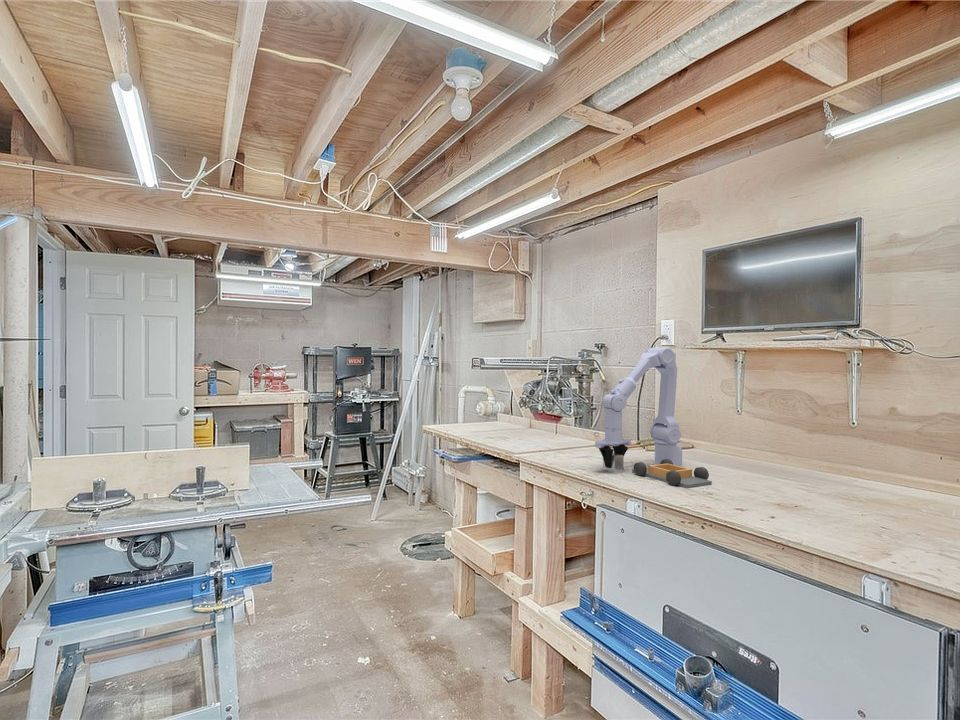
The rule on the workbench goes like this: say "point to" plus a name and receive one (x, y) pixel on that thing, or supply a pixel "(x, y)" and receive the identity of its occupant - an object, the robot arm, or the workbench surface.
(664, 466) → the chassis
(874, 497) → the workbench surface
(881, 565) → the workbench surface
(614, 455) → the engine block
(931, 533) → the workbench surface
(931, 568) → the workbench surface
